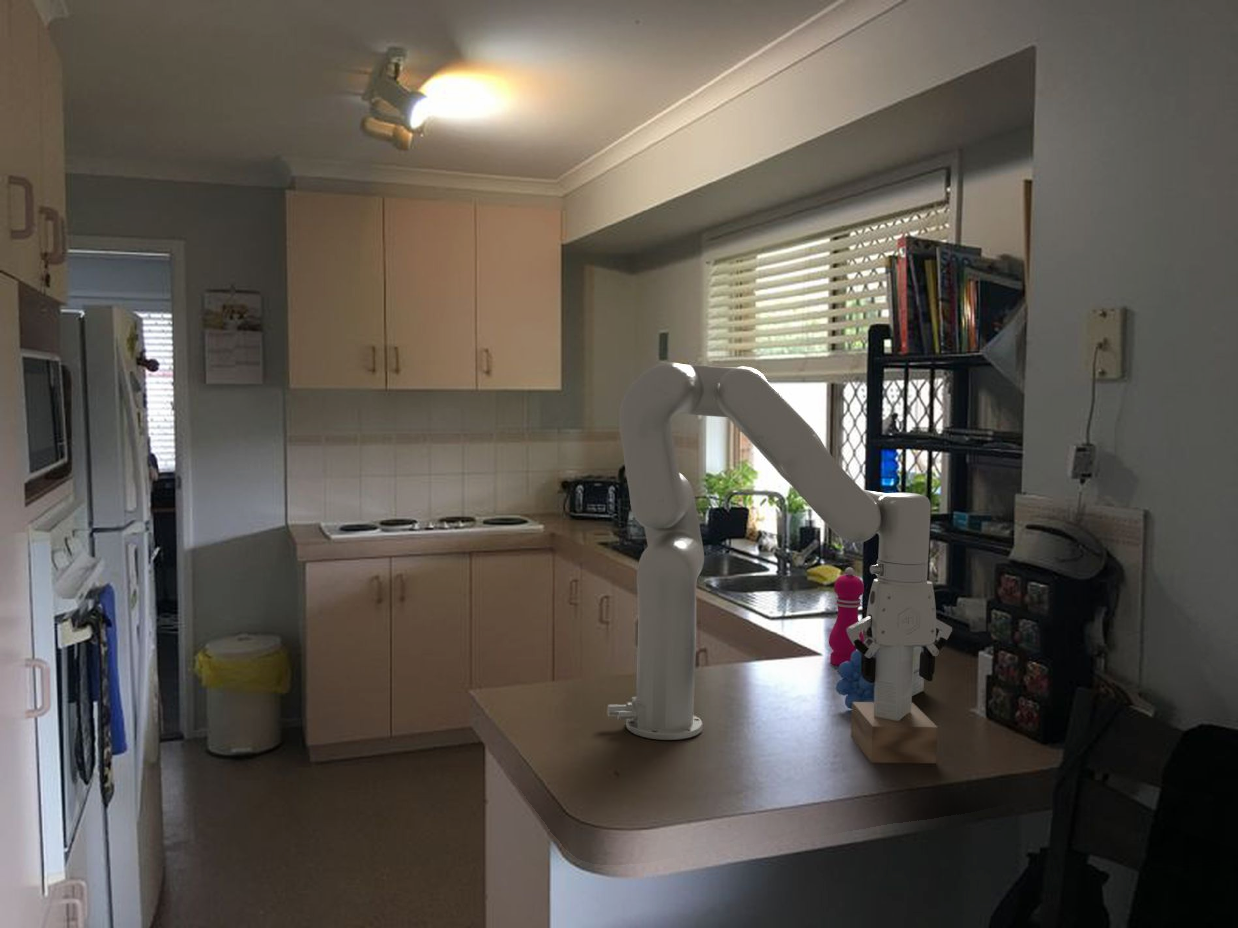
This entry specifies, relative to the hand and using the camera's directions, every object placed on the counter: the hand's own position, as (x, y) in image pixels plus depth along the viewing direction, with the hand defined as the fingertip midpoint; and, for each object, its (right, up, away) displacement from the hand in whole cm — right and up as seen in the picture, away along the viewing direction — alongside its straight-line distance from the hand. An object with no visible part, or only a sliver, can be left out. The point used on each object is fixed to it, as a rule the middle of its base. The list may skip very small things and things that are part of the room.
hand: (897, 679), depth 163 cm
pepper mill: (+3, -7, +51) cm, 52 cm away
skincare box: (-1, -6, 0) cm, 6 cm away
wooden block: (-1, -12, +1) cm, 12 cm away
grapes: (0, -10, +19) cm, 22 cm away
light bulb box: (+8, -9, +31) cm, 33 cm away
